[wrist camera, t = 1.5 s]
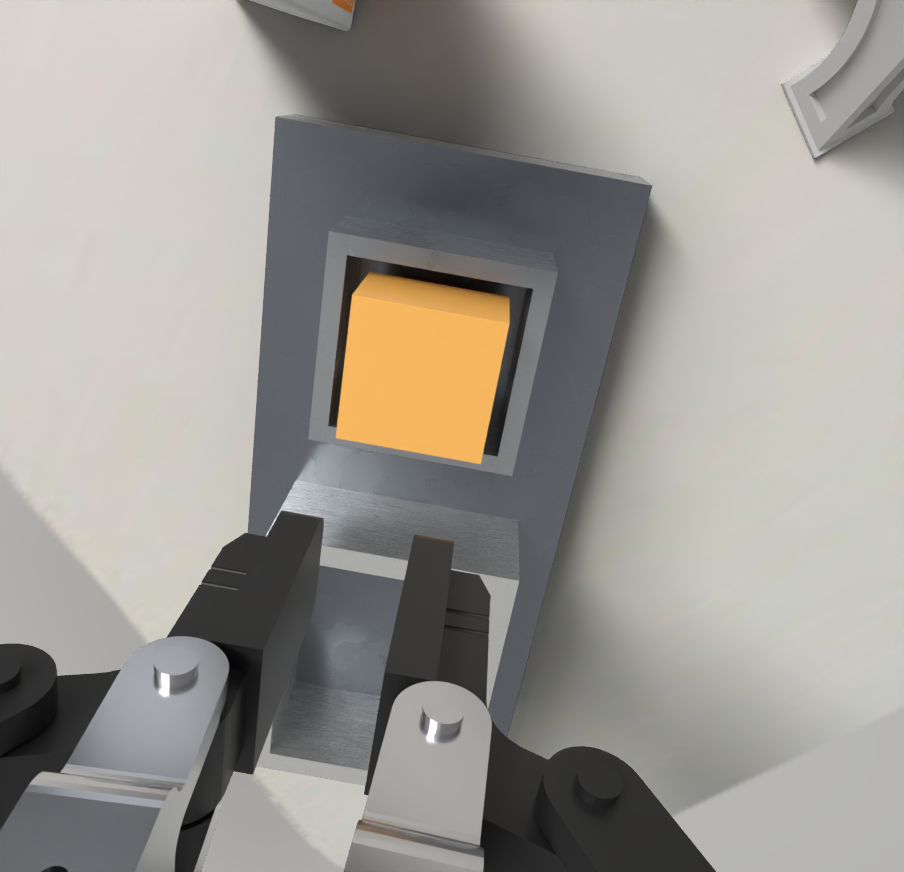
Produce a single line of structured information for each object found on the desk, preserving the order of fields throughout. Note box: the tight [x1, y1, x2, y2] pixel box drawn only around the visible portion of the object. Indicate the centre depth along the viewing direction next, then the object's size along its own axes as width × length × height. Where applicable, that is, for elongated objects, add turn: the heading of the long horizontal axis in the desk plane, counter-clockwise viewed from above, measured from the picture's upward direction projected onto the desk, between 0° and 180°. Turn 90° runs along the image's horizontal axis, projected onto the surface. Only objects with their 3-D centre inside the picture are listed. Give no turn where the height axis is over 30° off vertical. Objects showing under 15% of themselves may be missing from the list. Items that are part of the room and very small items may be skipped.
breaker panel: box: [248, 114, 652, 786], centre depth 29 cm, size 12×24×6 cm, turn 170°
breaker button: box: [336, 272, 510, 464], centre depth 24 cm, size 4×4×3 cm
